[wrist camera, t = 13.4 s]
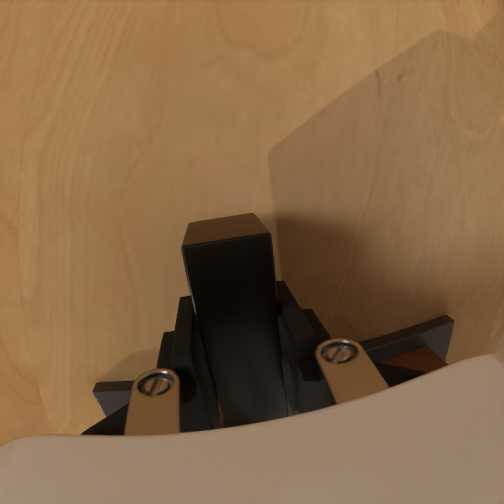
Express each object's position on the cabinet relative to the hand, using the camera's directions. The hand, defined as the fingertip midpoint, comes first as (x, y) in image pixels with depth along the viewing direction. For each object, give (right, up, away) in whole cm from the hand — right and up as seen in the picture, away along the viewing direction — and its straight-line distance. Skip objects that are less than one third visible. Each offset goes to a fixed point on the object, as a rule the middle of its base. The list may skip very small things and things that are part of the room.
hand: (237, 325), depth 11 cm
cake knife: (+1, -5, +2) cm, 5 cm away
